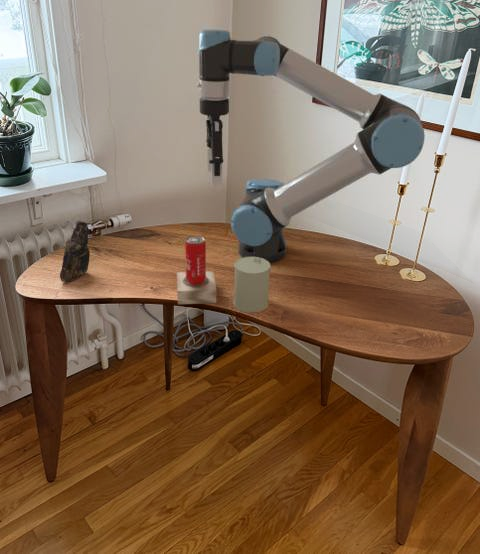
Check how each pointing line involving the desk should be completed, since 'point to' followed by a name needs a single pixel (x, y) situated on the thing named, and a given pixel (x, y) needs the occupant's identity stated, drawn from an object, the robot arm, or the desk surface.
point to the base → (196, 290)
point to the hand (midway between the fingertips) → (214, 178)
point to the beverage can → (195, 260)
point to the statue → (76, 254)
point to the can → (251, 284)
